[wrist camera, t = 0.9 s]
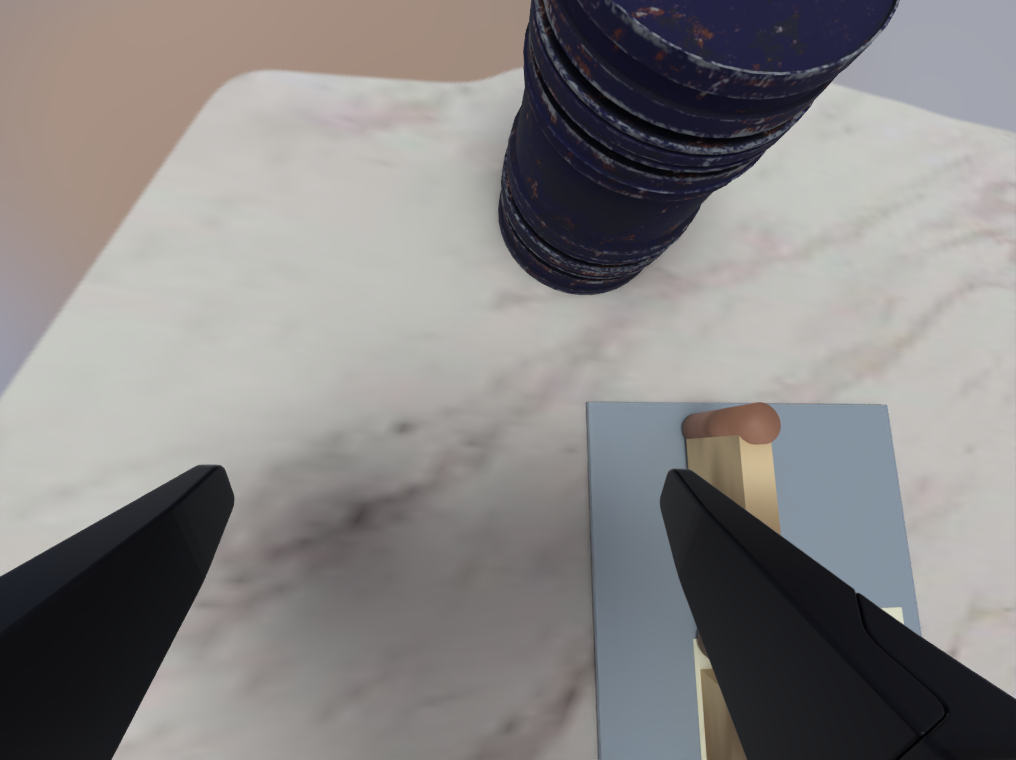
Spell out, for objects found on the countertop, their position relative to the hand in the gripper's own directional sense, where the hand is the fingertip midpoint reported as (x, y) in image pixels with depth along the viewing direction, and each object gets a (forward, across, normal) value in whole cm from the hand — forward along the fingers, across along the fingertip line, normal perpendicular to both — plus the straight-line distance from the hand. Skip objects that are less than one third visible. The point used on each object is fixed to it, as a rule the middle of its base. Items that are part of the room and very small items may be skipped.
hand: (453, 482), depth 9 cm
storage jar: (+20, -6, -2) cm, 21 cm away
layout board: (+7, -16, +14) cm, 22 cm away
